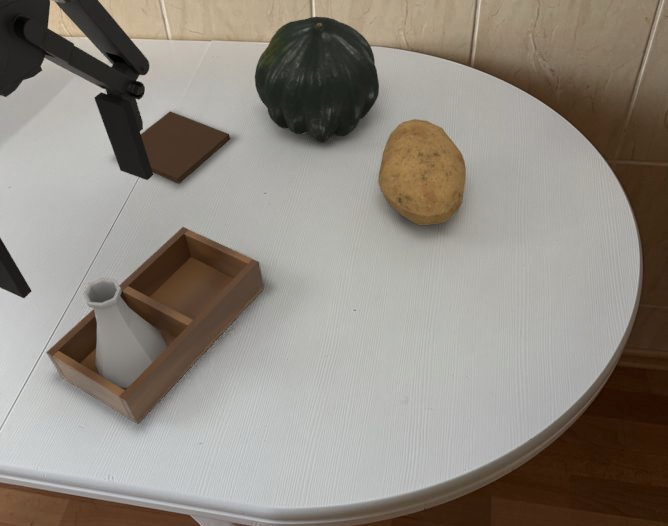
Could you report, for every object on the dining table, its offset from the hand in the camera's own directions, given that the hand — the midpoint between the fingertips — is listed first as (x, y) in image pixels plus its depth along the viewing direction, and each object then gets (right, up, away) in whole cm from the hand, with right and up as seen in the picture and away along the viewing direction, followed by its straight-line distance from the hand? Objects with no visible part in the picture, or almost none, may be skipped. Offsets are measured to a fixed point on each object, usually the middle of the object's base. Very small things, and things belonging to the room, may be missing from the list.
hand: (79, 227), depth 52 cm
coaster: (-1, +16, +37) cm, 40 cm away
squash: (+17, +20, +39) cm, 47 cm away
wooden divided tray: (+2, -7, +19) cm, 20 cm away
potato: (+29, +7, +28) cm, 41 cm away
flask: (-1, -10, +16) cm, 19 cm away
